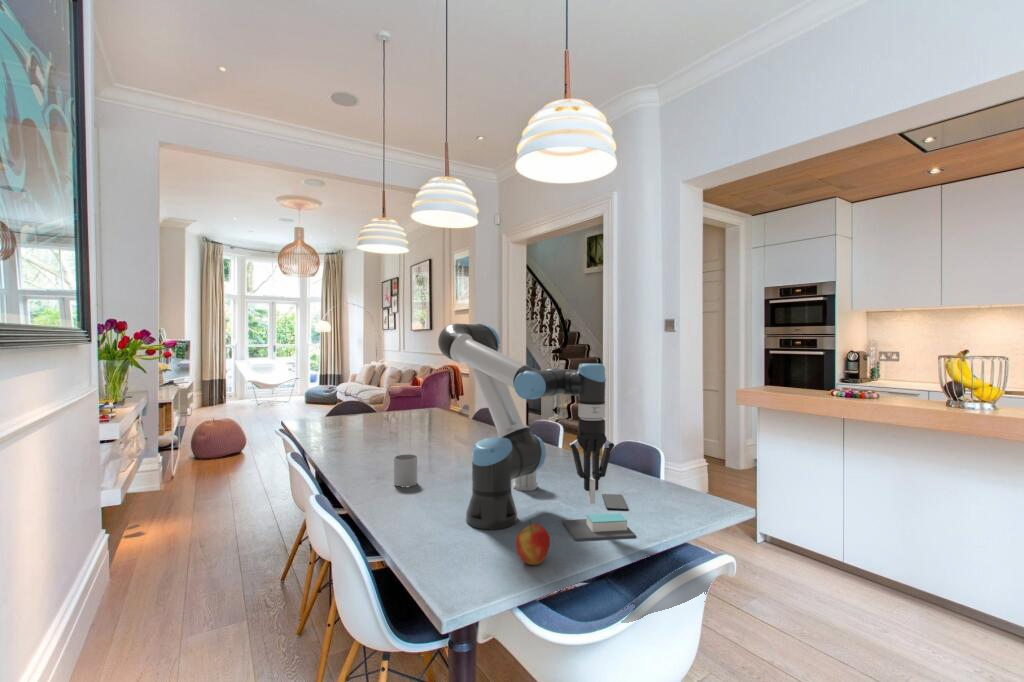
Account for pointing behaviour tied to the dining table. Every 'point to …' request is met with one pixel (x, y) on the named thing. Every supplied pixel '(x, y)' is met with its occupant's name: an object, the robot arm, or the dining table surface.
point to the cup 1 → (405, 470)
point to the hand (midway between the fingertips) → (591, 501)
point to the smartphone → (615, 502)
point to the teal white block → (606, 522)
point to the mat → (583, 532)
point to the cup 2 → (526, 482)
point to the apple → (533, 544)
